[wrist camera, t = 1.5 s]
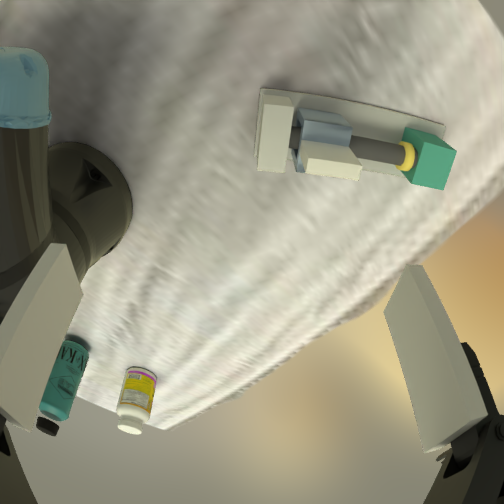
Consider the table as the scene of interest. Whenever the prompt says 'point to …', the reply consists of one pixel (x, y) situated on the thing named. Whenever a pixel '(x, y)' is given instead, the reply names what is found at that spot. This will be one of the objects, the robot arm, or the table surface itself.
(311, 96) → the slider rail
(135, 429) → the supplement bottle
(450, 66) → the table surface
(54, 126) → the table surface
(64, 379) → the beverage bottle
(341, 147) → the pale blue hollow box
